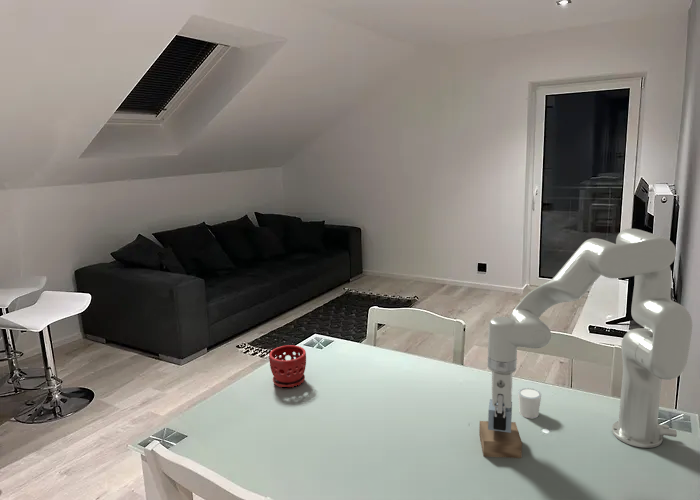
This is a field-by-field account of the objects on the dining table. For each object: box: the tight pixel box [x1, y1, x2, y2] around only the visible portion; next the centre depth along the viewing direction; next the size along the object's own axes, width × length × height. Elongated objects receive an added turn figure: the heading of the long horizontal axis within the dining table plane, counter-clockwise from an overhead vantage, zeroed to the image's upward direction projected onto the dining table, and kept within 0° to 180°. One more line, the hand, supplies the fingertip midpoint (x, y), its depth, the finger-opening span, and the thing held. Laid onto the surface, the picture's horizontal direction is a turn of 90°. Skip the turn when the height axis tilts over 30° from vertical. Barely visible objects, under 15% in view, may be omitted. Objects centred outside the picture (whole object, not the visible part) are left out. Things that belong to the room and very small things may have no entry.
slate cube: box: [487, 398, 513, 433], centre depth 143 cm, size 6×6×6 cm
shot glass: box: [517, 387, 542, 419], centre depth 161 cm, size 7×7×7 cm
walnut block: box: [478, 420, 523, 459], centre depth 145 cm, size 10×10×5 cm
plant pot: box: [268, 344, 307, 388], centre depth 186 cm, size 13×13×12 cm
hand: (500, 422), depth 144 cm, fingers closed on slate cube, 6 cm apart
